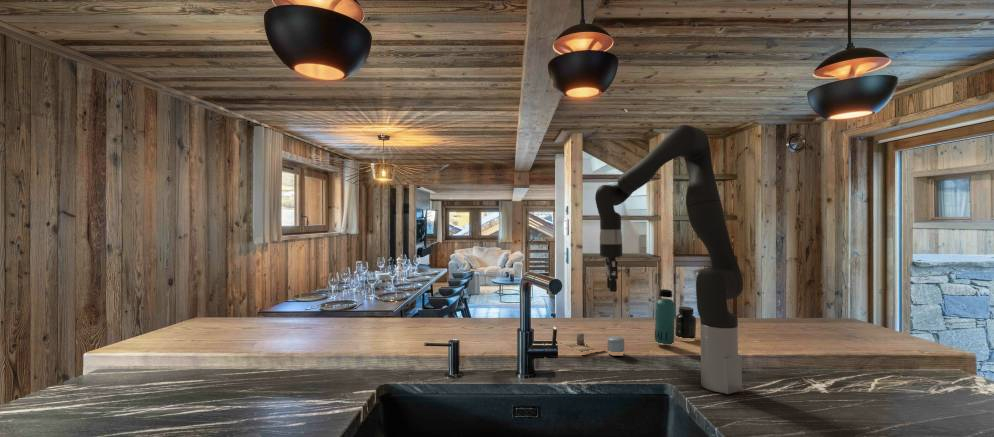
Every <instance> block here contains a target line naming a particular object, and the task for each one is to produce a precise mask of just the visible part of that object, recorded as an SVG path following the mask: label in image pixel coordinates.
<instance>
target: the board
mask: <svg viewBox="0 0 994 437" xmlns="http://www.w3.org/2000/svg"><path fill="white" fill-rule="evenodd" d="M584 340H585V334H584V333H582V332H579V333H578V332H577V333H576V340H575V339H574V340H570V341H569V340H568V341H562V342H559V345H560V344H564V345H566V346H569V347H571V348H574V349H576V350H579V351H581V352H583V351H589V350H594V349H595V348H594V347H593V348H591V347H590V346H588V345H587V344H586V346H585V343H588V342H590V341H589V340H586V341H587V342H585V341H584ZM576 344H577V345H576Z"/></svg>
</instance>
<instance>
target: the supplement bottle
mask: <svg viewBox="0 0 994 437" xmlns="http://www.w3.org/2000/svg"><path fill="white" fill-rule="evenodd" d="M696 331H697V318H696V316H695V315H694V308H693V307H691V306H679V307H678V314H676V316H675V326H674V336H675V335H676V336H678V337H682V338H695V339H696V337H697V336H696V335H697V334H696Z"/></svg>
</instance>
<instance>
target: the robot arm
mask: <svg viewBox="0 0 994 437" xmlns="http://www.w3.org/2000/svg"><path fill="white" fill-rule="evenodd" d="M680 157H681V158H683V160H684V162H685V165H686V170H687V174H688V184H687V189H686V196H685V205H686V212H687V216H688V220H689V223H690V226H691V228H692V230H693V231H694V233H695V234H696V235H697V237H698V238H699V240H700V241H701V242H702V243H703V245H704V247H705V248H706V250H707V252H708V255H709V258H710V264H711V266H708V267H704V268H702V269H700V271H699V272H698V274H697V276H696V281H695V294H696V295H695V296H696V297H695V298H696V309H697V312H698V313H697V314H698V316H699V319H700V320H699V321H700V384H701V386H702V387H703V388H704V389H706V390H709V391H712V392H715V393H716V392H717V393H721V394H722V393H723V394H726V395H729V394H733V393H737V392H741V391H743V377H742V376H743V374H742V373H743V364H742V363H743V361H742V360H743V358H742V355H741V354H739V336H738V335H739V334H738V333H739V332H738V330H739V328H738V327H739V325H738V322H739V321H738V316H737V315H736V314H734V313H733V312H730V311H729V309H728V300H733V299H736V298H738V297H739V296H741V295H742V293H743V290H744V277H743V273H742V271H741V269H740V266H739V263H738V260H737V258H736V254H735V251H734V249H733V246H732V242H731V238H730V235H729V230H728V226H727V223H726V218H725V213H724V208H723V204H722V200H721V196H720V193H719V189H718V185H717V180H716V176H715V173H714V167H713V162H712V154H711V143H710V139H709V137H708V135H707V133H706V132H705V131H704V130H702V129H700V128H698V127H695V126H692V125H689V124H682V125H681V124H680V125H679V126H676V127H675V128H674V129H673V130H671V131H670V132H669V133H668V134H666V135H665V137H664V138H663V139H662V140H661V141H660V142H659V143H658V144H657V145H656V146H655V147H654V148H653V149H652V150H651V151H649V153H647V155H645V156H644V157H643V158H642V159H641V160H640V161H638V162H637V163H636V164H634V165H633V166H631V167H630V168H629V169H626V171H625V172H623V173H622V174H621V175H619V177H617V183H616V184H614V185H612V184H602V185H600V186H599V187H598V188H597V189H596V191H595V197H594V198H595V200H594V201H595V204H596V208H597V212H598V215H599V222H600V223H599V229H600V232H599V255H600V257H602V258H606V259H605V261H604V265H605V266H604V267H605V271H604V272H605V276H606V281H607V282H606V286H607V288H608V289H609V292H612V293H613V292H615V293H616V292H617V290H618V289H617V288H618V286H617V284H618V283H617V281H618V278H619V276H618V274H619V269H618V268H619V263H618V261H617V260H616V258H621V257H623V234H622V217H621V215H620V213H619V212H616V210H615V206H619V205H621V204H623V203H624V202H625V201H627V200H628V198H630V197H631V196H632V194H633V193H634V192H636V191H637V190H639V189H640V188H642V187H643V186H645V185H647V184H648V183H649V182H650V181H651V180H652V179H653V178H654V177H655V175H657V172H658V171H659V170H660V169H661V167H663V166H664V165H665V164H666V163H669V162H670V161H672V160H674V159H676V158H680Z"/></svg>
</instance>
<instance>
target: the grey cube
mask: <svg viewBox="0 0 994 437" xmlns="http://www.w3.org/2000/svg"><path fill="white" fill-rule="evenodd" d="M608 351H611V352H623V351H624V352H625V338H623V337H622V336H621V337H620V336H609V337H607V352H608Z"/></svg>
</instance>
